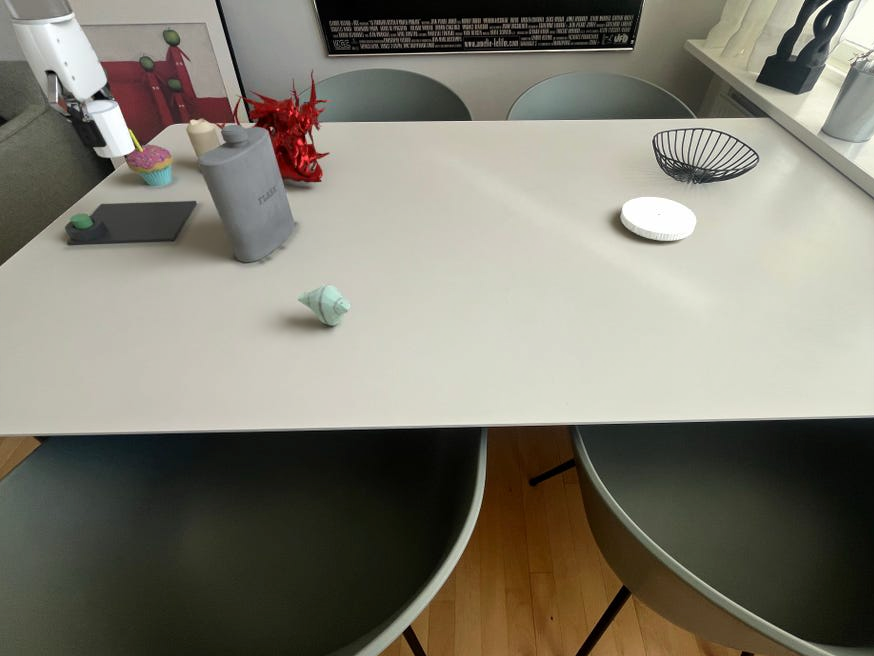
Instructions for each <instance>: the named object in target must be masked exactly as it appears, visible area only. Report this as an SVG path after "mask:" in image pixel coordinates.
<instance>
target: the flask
mask: <svg viewBox="0 0 874 656" xmlns="http://www.w3.org/2000/svg"><path fill="white" fill-rule="evenodd" d="M240 125H241V124H240ZM240 125H237V124H230V125H225V127H224V128H223V129H221V130H220V133H221V137H222V139H223V141H224V143H221V145H220V146H219V147H217V148H215V149H213V150H210V151H208V152H206V153H204V154H202V155H201V156H200V157H199V158H197V159H196V162H197V164H198V167H199V170H200V171H201V172H200V173H201V174H202V178H203V179H204V183H205V185H206V187H207V190H208V191H209V194H210V197H211V199H212V202H213V204H214V206H215V209H216V211H217V213H218V217H219V219H220V221H221V224H222V226H223V228H224V231H225V233H226V236H227V238H228V240H229V243H230V246H231V248H232V251H233V253H234V255H235V258H236V259H237V261H240V262H242V263H255V262H258V261H261V260H262V259H264V258H266V257H267V256H268V255H270V254H271V253H273V252H274V251H276V249H278V248H279V247H280V246H281V245H282V244H283V243H284V242H285V241H286V240H287V239H288V238H289V236H290V235H291V233H292V232H293V230H294V229H295V227H296V224H295V221H294V216H293V213H292V210H291V206H290V203H289V199H288V196H287V192H286V189H285V185H284V181H283V178H282V177H281V174H280V170H279V167H278V163H277V160H276V156H275V153H274V149H273V146H272V142H271V139H270V135H269V132H268V130H266V129H264V128H260V127H253V126H250V127H247V128H245V127H244V126H243V125H241V126H240Z"/></svg>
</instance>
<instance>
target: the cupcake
mask: <svg viewBox="0 0 874 656" xmlns="http://www.w3.org/2000/svg"><path fill="white" fill-rule="evenodd" d="M127 128H128V131H129V134H130V136H131V139H132V142H133V144H134V146H136V147H135V149H134V151H132V152H131V153H129V154H126V158H125V163H126V164H127V166H128V168H129V170H130V171H131V172H133V173H137V174H138V175H139V176H140V177H141V178H142V179H143V180H144V181H145V183H147V184H148V186H149V185H150V186H162V185H166V184H168V183H170V182H171V181H172V179H173V177H172V166H173V165H172V164H173V163H174V158H173V156H172V154H171V152H170V150H168V149H167V148H166V147H161V146H160V145H159V146H158V145H156V144H155V145H154V144H144V145H140V143H139V141H138V139H137V138H136V136H135V134H134V133H133V131H132V130H131V129H130V128H129V127H128V126H127Z"/></svg>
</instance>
